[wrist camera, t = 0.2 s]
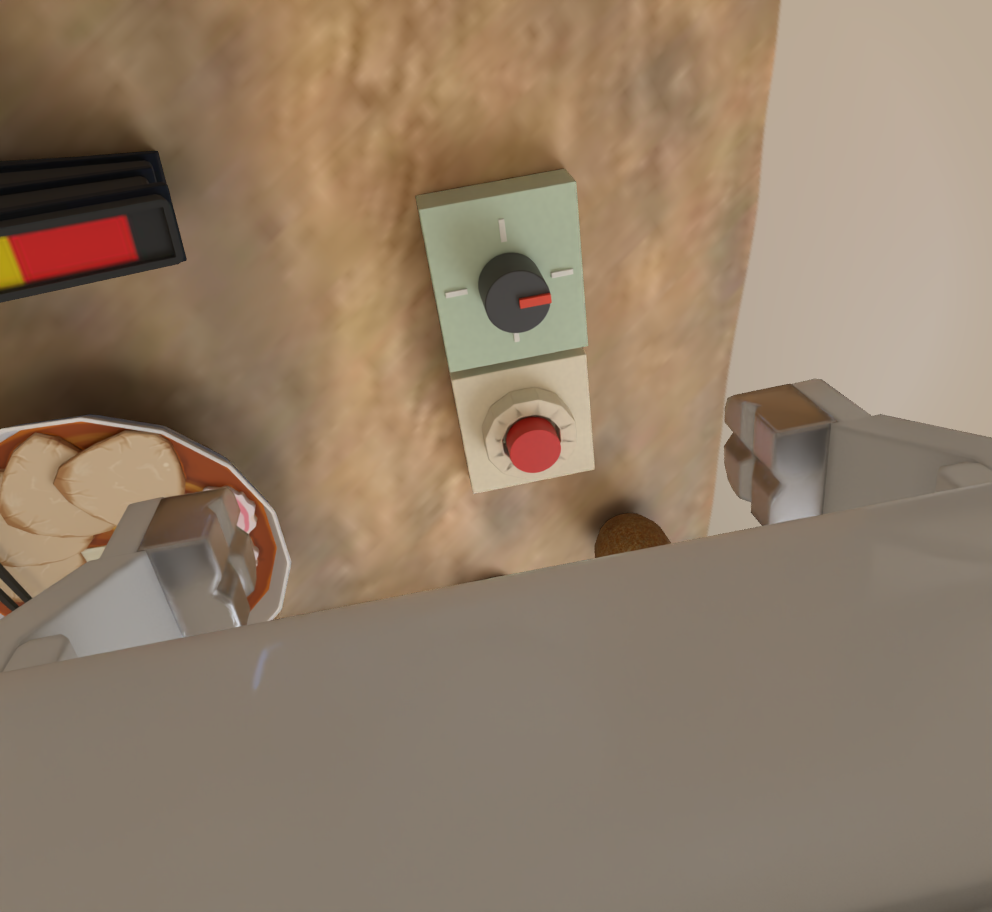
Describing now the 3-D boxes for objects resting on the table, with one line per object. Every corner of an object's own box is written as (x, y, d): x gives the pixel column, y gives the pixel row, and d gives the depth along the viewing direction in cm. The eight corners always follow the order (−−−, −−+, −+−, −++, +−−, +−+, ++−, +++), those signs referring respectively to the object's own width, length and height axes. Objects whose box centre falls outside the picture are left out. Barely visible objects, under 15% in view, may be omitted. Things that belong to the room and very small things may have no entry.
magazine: (-122, 167, 41) (-119, 240, 31) (136, 131, 47) (212, 183, 37) (-90, 236, 43) (-77, 327, 33) (153, 194, 49) (229, 259, 39)
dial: (482, 317, 50) (490, 341, 47) (473, 258, 47) (481, 279, 44) (543, 306, 50) (555, 329, 47) (537, 246, 48) (549, 266, 45)
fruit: (633, 559, 68) (663, 626, 61) (571, 544, 66) (595, 611, 59) (668, 505, 65) (704, 569, 58) (605, 487, 63) (634, 552, 56)
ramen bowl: (350, 568, 64) (349, 643, 57) (92, 653, 64) (61, 736, 58) (198, 299, 49) (173, 356, 42) (-131, 412, 50) (-206, 486, 43)
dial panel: (415, 195, 48) (418, 210, 45) (564, 168, 48) (576, 181, 46) (445, 353, 54) (450, 374, 51) (577, 327, 54) (588, 347, 52)
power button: (502, 422, 54) (506, 435, 52) (553, 412, 54) (558, 425, 52) (509, 463, 56) (513, 477, 54) (557, 454, 56) (563, 467, 54)
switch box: (448, 365, 55) (454, 393, 51) (578, 340, 55) (593, 365, 52) (469, 477, 60) (476, 509, 57) (587, 453, 61) (601, 483, 57)
